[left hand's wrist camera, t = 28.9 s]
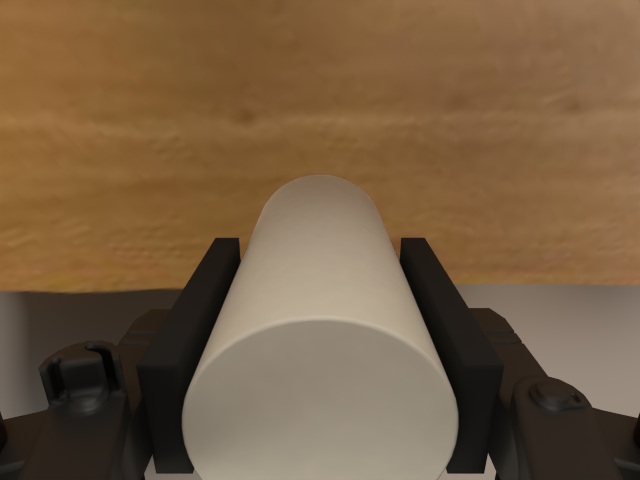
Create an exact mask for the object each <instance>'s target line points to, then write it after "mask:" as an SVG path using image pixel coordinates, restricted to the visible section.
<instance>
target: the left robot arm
mask: <svg viewBox="0 0 640 480" xmlns="http://www.w3.org/2000/svg"><path fill="white" fill-rule="evenodd" d="M240 263H241V260H240V246H239V238H215V240H214V241H213V243H212V245H211V246H210V248H209V249H208V251H207V253H206V254H205V256H204V257H203V259H202V261H201V262H200V264H199V265H198V267H197V269H196V270H195V272H194V273H193V275H192V277H191V278H190V280H189V281H188V283H187V285H186V286H185V288H184V289H183V291H182V293H181V294H180V296H179V297H178V299H177V301H176V302H175V304H174V305H173V307H172V309H171V310H150V311H148V312H147V313H145V314H144V315H142V316H141V317H139V318H138V319H136V320H135V322H134V323H133V324H132V326H131V327H130V328H129V330H128V331H127V334H126V335H124V336H123V338H122V339H121V340H120V342H119V345H117V346H115V345H114V344H113V343H109V342H105V341H87V342H82V343H78V344H74V345H71V346H69V347H66V348H64V349H62V350H59V351H57V352H56V353H54V354H53V355H51V356H50V357H48V358H47V359H46V360H45V361H44V362H43V363H42V364H41V366H40V367H39V368H38V369H39V372H40V376H41V379H42V382H43V386H44V389H45V393H46V396H47V400H48V403H49V407H48V409H47V410H44V411H41V412H37V413H32V414H28V415H23V416H18V417H14V418H10V419H5V420H3V418H2V415H1V413H0V480H145V476H144V472H145V470H146V468H147V465H148V463H149V461H150V459H151V456H152V454H153V459H154V464H155V469H156V473H193V471H194V466H193V464H192V462H191V460H190V458H189V456H188V453H187V450H186V447H185V444H184V438H183V432H182V410H183V405H184V400H185V396H186V394H187V391H188V388H189V386H190V383H191V381H192V378H193V376H194V374H195V371H196V369H197V366H198V364H199V362H200V359H201V357H202V354H203V352H204V349H205V347H206V345H207V342H208V340H209V337H210V335H211V333H212V330H213V328H214V325H215V323H216V321H217V318H218V316H219V313H220V311H221V308H222V306H223V304H224V301H225V299H226V296H227V294H228V292H229V289H230V287H231V284H232V282H233V280H234V277H235V275H236V272H237V270H238V268H239V265H240ZM400 265H401V267H402V270H403V272H404V274H405V277H406V279H407V282H408V284H409V286H410V289H411V291H412V294H413V296H414V298H415V301H416V303H417V306H418V308H419V310H420V313H421V315H422V318H423V320H424V322H425V325H426V327H427V330H428V332H429V334H430V337H431V339H432V342H433V344H434V346H435V349H436V351H437V354H438V356H439V358H440V361H441V363H442V366H443V368H444V370H445V373H446V375H447V378H448V380H449V382H450V385H451V388H452V390H453V393H454V396H455V398H456V403H457V408H458V424H459V427H458V434H457V440H456V445H455V448H454V451H453V454H452V457H451V459H450V461H449V463H448V465H447V467H446V470H447V473H462V474H464V473H465V474H469V473H470V474H474V473H480V474H483V473H484V471H485V466H486V460H487V455H488V454H489V456H490V458H491V460H492V463H493V465H494V467H495V469H496V476H495V480H640V414H639V417H638V418H635V417H630V416H626V415H621V414H617V413H612V412H607V411H603V410H599V409H596V408H592V406H591V404H590V403H589V401H588V400H587V398H586V397H585V396H584V394H582V393H581V392H580V391H578V390H577V389H576V388H574V387H573V386H571V385H569V384H567V383H565V382H563V381H561V380H559V379H555V378H552V377H548V376H547V374H546V373H545V372H544V370H543V369H542V368H541V366H540V365H539V364H538V362H537V361H536V360H535V358H534V357H533V356H532V354H531V353H530V352H529V350H528V349H527V348H526V346H525V345H524V344H522V341H521V339H520V338H519V337H518V335H517V334H516V333H514V330H513V329H512V327H511V326H510V325H509V323H508V322H507V321H506V319H505V318H503V317H502V316H500V315H499V314H497V313H496V312H494V311H493V310H491V309H490V308H468V307H467V305H466V303H465V302H464V300H463V299H462V297H461V295H460V294H459V292H458V291H457V289H456V287H455V286H454V284H453V283H452V281H451V279H450V278H449V276H448V275H447V273H446V271H445V270H444V268H443V267H442V265H441V263H440V262H439V260H438V259H437V257H436V255H435V254H434V252H433V251H432V249H431V247H430V246H429V244H428V243H427V241H426V239H425V238H401V250H400Z"/></svg>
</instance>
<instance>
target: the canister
mask: <svg viewBox="0 0 640 480" xmlns="http://www.w3.org/2000/svg"><path fill="white" fill-rule="evenodd" d="M458 427H459V424H458V408H457V403H456V398H455V396H454V393H453V390H452V388H451V385H450V382H449V380H448V378H447V375H446V373H445V370H444V368H443V366H442V363H441V361H440V358H439V356H438V354H437V351H436V349H435V346H434V344H433V342H432V339H431V337H430V334H429V332H428V330H427V327H426V325H425V322H424V320H423V318H422V315H421V313H420V310H419V308H418V306H417V303H416V301H415V298H414V296H413V294H412V291H411V289H410V286H409V284H408V282H407V279H406V277H405V274H404V272H403V270H402V267H401V265H400V263H399V260H398V258H397V255H396V253H395V251H394V248H393V246H392V243H391V241H390V239H389V236H388V234H387V231H386V229H385V227H384V224H383V222H382V219H381V217H380V215H379V212H378V210H377V208H376V206H375V204H374V203H373V201H372V200H371V199H370V197H369V196H368V195H367V194H366V193H365V192H364V191H363V190H362V189H361V188H359V187H358V186H357V185H355V184H353V183H351V182H350V181H348V180H345V179H343V178H340V177H336V176H331V175H309V176H304V177H300V178H297V179H295V180H292V181H290V182H289V183H287V184H285V185H283V186H282V187H281V188H279V189H278V190H277V191H276V192H275V193H274V194H273V195H272V196H271V197H270V199H269V200H268V201H267V203H266V204H265V206H264V208H263V210H262V212H261V214H260V217H259V219H258V222H257V224H256V227H255V229H254V231H253V234H252V236H251V239H250V241H249V243H248V246H247V248H246V251H245V253H244V255H243V258H242V260H241V263H240V265H239V268H238V270H237V272H236V275H235V277H234V280H233V282H232V284H231V287H230V289H229V292H228V294H227V296H226V299H225V301H224V304H223V306H222V308H221V311H220V313H219V316H218V318H217V321H216V323H215V325H214V328H213V330H212V333H211V335H210V337H209V340H208V342H207V345H206V347H205V349H204V352H203V354H202V357H201V359H200V362H199V364H198V366H197V369H196V371H195V374H194V376H193V378H192V381H191V383H190V386H189V388H188V391H187V394H186V396H185V400H184V405H183V410H182V432H183V438H184V444H185V447H186V450H187V453H188V456H189V458H190V460H191V462H192V464H193V466H194V468H195V470H196V471H197V472H198V474H199V475H200V477H201V478H202V480H438V478H439V477H440V476H441V474H442V473H443V471H444V470H445V468H446V467H447V465H448V463H449V461H450V459H451V457H452V454H453V451H454V448H455V445H456V440H457V434H458Z"/></svg>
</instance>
